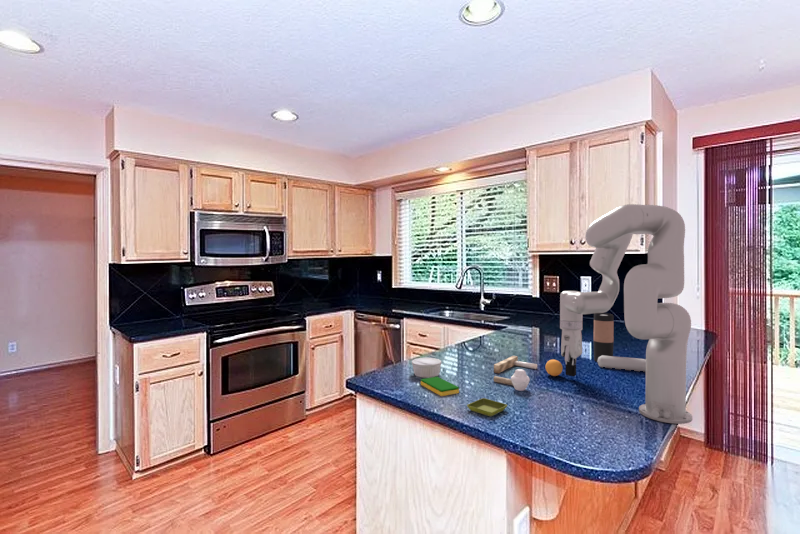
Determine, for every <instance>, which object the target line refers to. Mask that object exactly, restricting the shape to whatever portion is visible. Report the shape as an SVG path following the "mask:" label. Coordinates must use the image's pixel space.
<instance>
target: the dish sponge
mask: <svg viewBox="0 0 800 534" xmlns="http://www.w3.org/2000/svg"><path fill="white" fill-rule="evenodd" d="M420 385H421V386H422V387H424V388H426V389H428V390H429V391H432V392H433V393H435V394H436V395H438V396H440V397H445V396H450V395H455V394H459V393H460V386H457V385H455V384H454V383H451V382H449V381H447V380H445V379H443V378H441V377H439V376H436V377H432V378H420Z"/></svg>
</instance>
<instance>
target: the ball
mask: <svg viewBox="0 0 800 534" xmlns="http://www.w3.org/2000/svg"><path fill="white" fill-rule="evenodd" d="M544 367H545V371H546V372H547V374H548V375H550V376H552V377H556V376H557V377H558V376H560V375H561V374H562V372H563V365H562V362H560V361H559V360H557V359H550V360H547V362H546V364H545V366H544Z"/></svg>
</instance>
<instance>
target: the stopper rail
mask: <svg viewBox="0 0 800 534" xmlns="http://www.w3.org/2000/svg"><path fill="white" fill-rule="evenodd" d="M514 361H519V358H518V356H517V355H512V356H509V357H508V358H505V359H504V360H501V361H499V362H496V363H494V364H493V373H496V374H500V373H501V372H502V373H503V372H504V371H506V370H508V369H510V368H512V367H514V366H515V365H514Z"/></svg>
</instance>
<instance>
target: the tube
mask: <svg viewBox="0 0 800 534" xmlns="http://www.w3.org/2000/svg"><path fill="white" fill-rule="evenodd" d="M596 363H597V365H598V366H599V367H600V368H603V367H605V368H604V369H612V368H615V369H614V370H621V369H625V371H631V370H634V371H633V372H640V371H643V373H646V358H636V357H627V356H625V357H624V356H616V355H615V356H614V355H613V356H604V355H602V356H600V357H598V361H597V362H596Z"/></svg>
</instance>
